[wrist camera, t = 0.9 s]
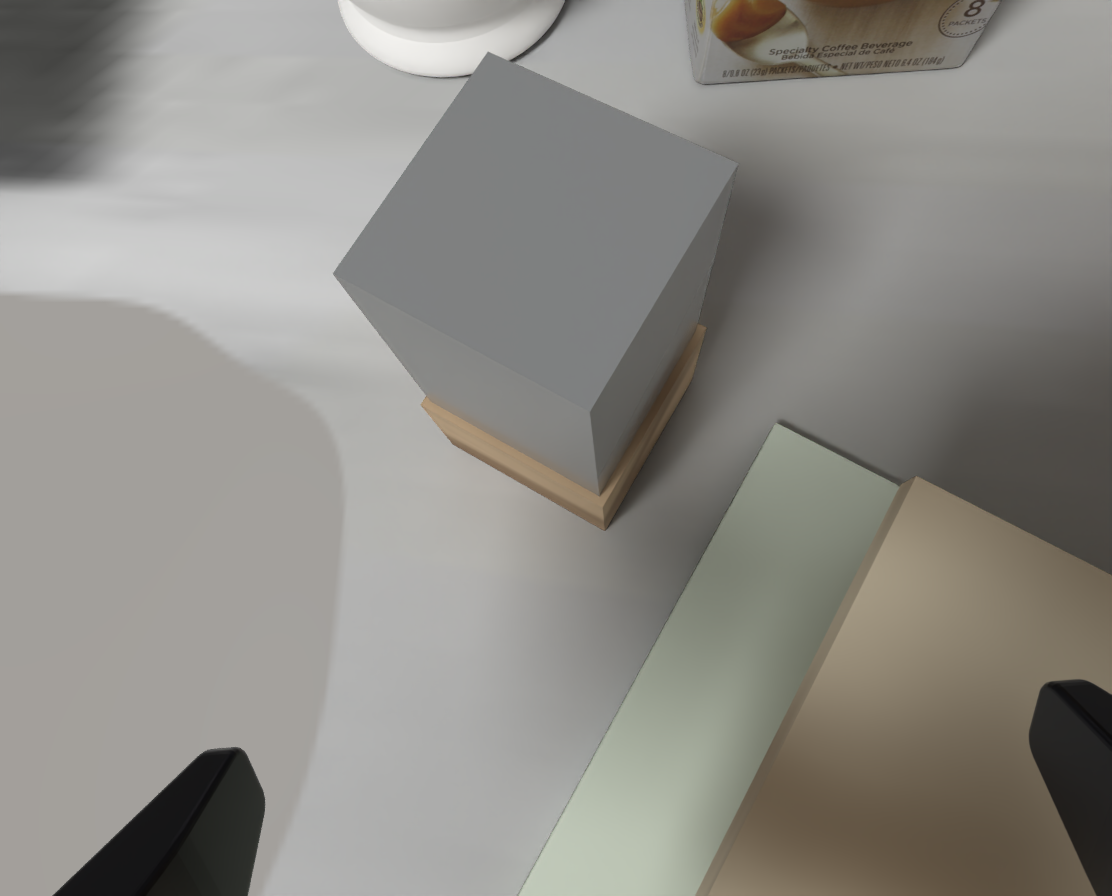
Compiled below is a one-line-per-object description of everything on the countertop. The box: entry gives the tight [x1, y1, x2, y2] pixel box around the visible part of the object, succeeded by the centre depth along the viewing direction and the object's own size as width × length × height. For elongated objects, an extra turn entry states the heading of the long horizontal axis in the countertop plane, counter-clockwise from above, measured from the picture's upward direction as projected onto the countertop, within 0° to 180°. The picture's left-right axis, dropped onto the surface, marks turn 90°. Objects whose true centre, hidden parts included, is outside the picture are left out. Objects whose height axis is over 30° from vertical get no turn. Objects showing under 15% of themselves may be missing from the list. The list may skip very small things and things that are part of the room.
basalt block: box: [333, 52, 739, 497], centre depth 16 cm, size 5×5×7 cm
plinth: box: [421, 324, 707, 531], centre depth 21 cm, size 5×5×4 cm
